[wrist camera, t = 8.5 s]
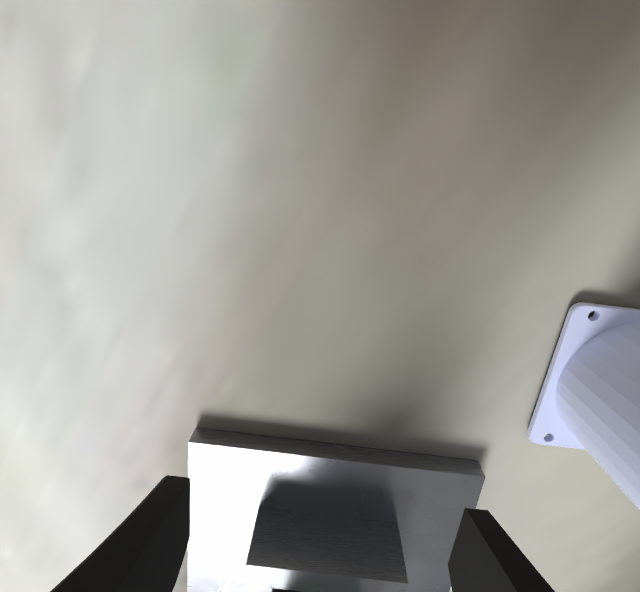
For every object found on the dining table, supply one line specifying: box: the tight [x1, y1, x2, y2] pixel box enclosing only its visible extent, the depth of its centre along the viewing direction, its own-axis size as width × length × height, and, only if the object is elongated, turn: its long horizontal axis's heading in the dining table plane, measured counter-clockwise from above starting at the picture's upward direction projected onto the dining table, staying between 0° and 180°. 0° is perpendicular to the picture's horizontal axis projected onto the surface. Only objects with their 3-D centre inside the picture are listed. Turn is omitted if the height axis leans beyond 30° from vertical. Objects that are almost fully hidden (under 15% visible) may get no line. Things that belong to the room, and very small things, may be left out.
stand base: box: [187, 428, 485, 592], centre depth 22 cm, size 16×16×4 cm
